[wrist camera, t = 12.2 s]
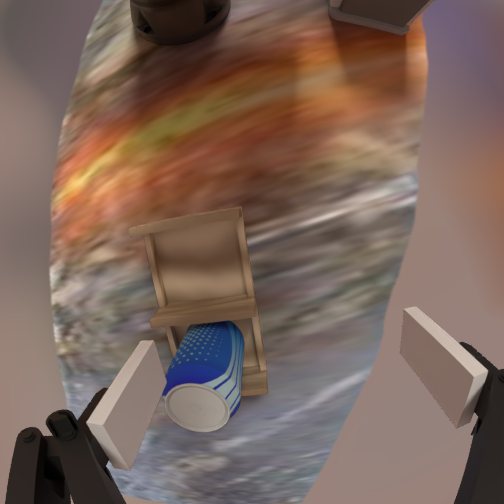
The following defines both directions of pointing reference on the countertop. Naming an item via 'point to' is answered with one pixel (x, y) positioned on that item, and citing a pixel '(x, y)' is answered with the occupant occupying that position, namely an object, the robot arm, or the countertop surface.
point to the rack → (206, 282)
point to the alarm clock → (379, 13)
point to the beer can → (205, 377)
